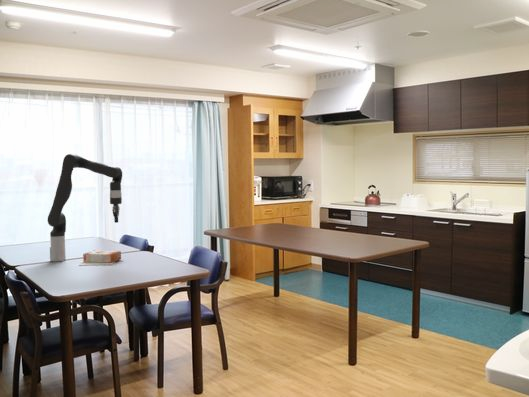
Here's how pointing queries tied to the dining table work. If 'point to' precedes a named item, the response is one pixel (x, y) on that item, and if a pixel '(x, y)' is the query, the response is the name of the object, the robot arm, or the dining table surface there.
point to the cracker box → (102, 256)
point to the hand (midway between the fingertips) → (116, 222)
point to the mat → (96, 263)
